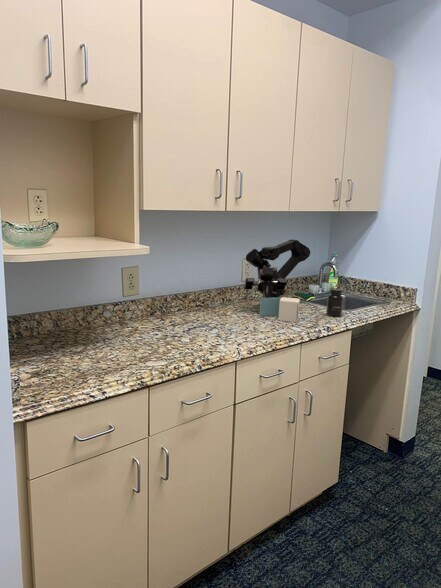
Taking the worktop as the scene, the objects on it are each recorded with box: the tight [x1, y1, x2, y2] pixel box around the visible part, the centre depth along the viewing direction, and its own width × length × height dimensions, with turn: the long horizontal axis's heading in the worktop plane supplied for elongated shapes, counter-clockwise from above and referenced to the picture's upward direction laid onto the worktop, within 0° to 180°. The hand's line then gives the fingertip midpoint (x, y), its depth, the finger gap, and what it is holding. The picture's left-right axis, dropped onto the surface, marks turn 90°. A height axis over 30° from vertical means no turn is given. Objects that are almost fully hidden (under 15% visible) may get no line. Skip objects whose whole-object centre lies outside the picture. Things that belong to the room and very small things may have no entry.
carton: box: [278, 296, 301, 323], centre depth 196 cm, size 9×8×8 cm
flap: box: [259, 296, 281, 317], centre depth 200 cm, size 9×2×8 cm, turn 107°
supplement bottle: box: [325, 288, 344, 318], centre depth 207 cm, size 7×7×12 cm
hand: (267, 299), depth 202 cm, fingers closed
